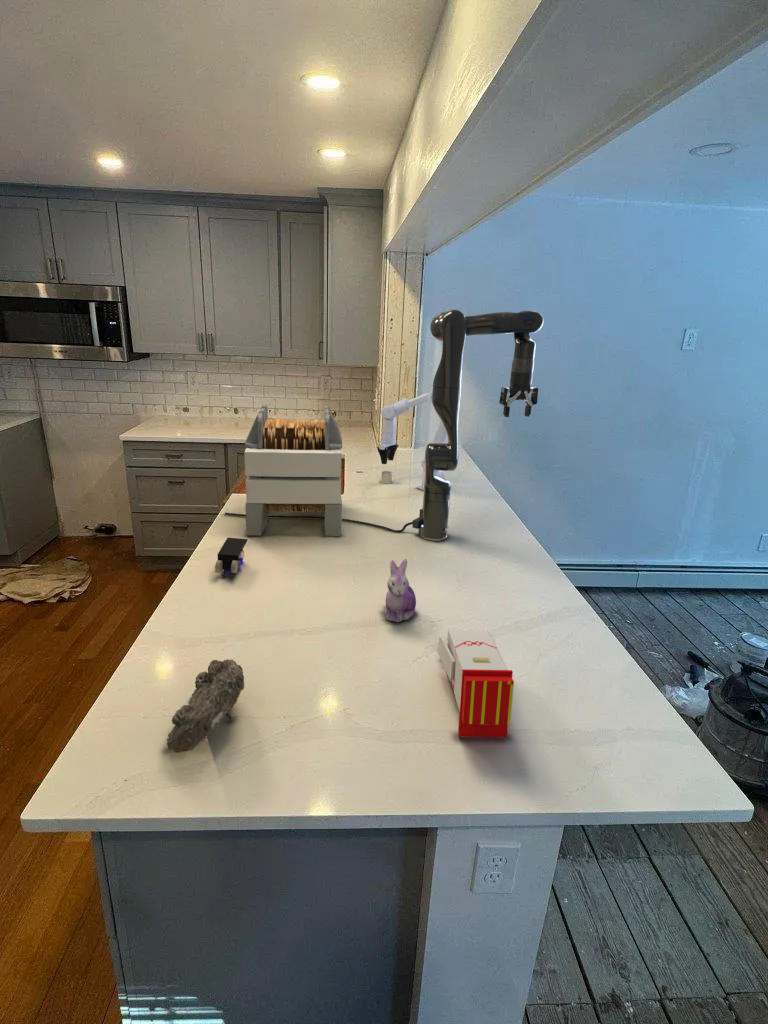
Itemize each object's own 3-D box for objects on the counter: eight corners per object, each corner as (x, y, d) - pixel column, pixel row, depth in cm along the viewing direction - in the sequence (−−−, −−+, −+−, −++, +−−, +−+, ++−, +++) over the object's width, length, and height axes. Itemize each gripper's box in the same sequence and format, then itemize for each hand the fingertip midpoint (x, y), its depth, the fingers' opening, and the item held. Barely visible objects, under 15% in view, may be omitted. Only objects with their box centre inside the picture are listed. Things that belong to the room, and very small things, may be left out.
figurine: (392, 627, 141) (395, 572, 136) (374, 608, 149) (376, 556, 144) (425, 619, 145) (429, 566, 140) (405, 601, 154) (408, 550, 149)
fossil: (192, 660, 117) (244, 628, 112) (224, 691, 120) (276, 661, 115) (142, 746, 98) (202, 712, 93) (182, 779, 101) (242, 748, 96)
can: (393, 482, 259) (394, 472, 258) (387, 484, 256) (388, 474, 254) (385, 479, 262) (385, 470, 260) (379, 482, 258) (379, 472, 257)
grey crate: (255, 503, 223) (251, 399, 209) (338, 504, 226) (340, 401, 213) (245, 536, 191) (239, 416, 177) (342, 536, 195) (344, 418, 181)
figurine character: (238, 584, 162) (249, 557, 175) (236, 562, 158) (247, 536, 172) (215, 584, 161) (227, 556, 175) (212, 561, 158) (225, 535, 171)
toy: (488, 613, 130) (523, 677, 101) (484, 667, 133) (517, 744, 104) (435, 612, 130) (455, 676, 101) (432, 666, 133) (451, 743, 103)
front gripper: (533, 369, 205) (527, 414, 211) (499, 369, 201) (494, 415, 206) (545, 372, 199) (539, 418, 204) (510, 371, 194) (504, 418, 200)
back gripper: (386, 428, 259) (385, 457, 263) (373, 434, 246) (372, 464, 251) (401, 430, 256) (399, 459, 261) (388, 436, 244) (387, 466, 248)
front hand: (516, 416), depth 205 cm, fingers open, 8 cm apart
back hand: (387, 462), depth 256 cm, fingers open, 7 cm apart
